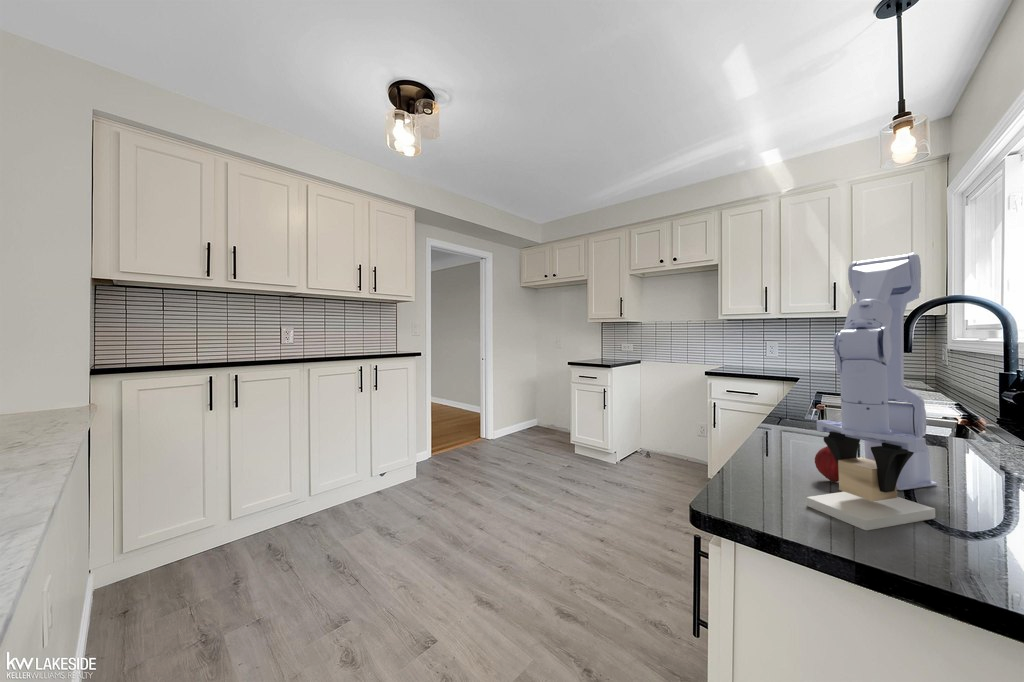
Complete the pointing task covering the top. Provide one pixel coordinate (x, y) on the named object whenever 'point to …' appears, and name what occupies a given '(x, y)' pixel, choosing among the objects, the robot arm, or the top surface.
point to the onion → (827, 464)
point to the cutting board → (870, 510)
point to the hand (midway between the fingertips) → (867, 484)
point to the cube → (862, 479)
